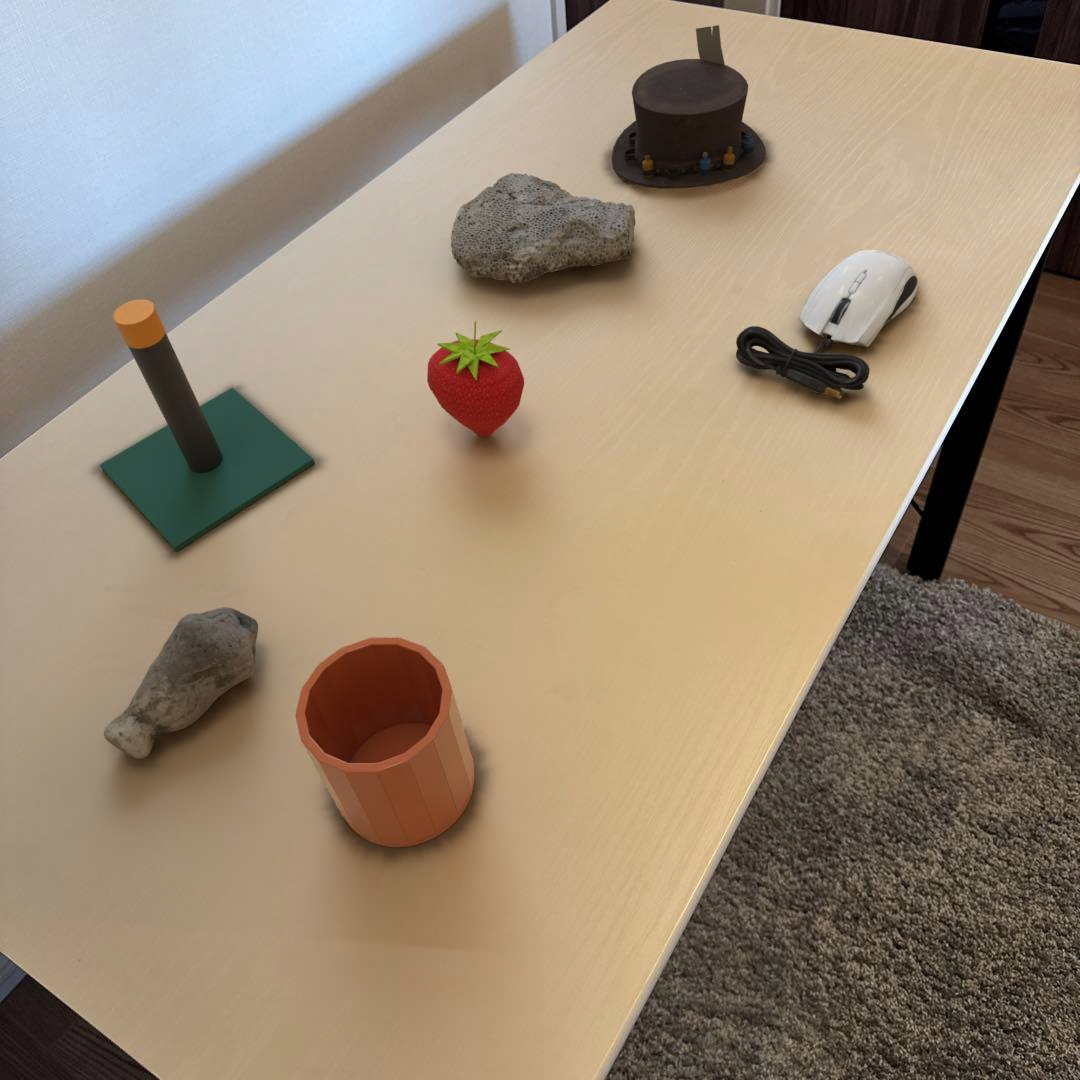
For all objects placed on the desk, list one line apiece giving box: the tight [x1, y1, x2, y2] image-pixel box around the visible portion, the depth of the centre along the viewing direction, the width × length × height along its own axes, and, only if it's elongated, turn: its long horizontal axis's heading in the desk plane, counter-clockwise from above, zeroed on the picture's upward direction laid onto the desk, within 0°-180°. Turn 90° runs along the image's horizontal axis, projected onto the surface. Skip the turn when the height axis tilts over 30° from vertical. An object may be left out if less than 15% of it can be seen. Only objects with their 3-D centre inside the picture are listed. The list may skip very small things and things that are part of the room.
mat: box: [99, 387, 316, 552], centre depth 78 cm, size 12×12×1 cm
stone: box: [103, 606, 259, 759], centre depth 62 cm, size 10×5×8 cm
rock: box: [450, 172, 636, 284], centre depth 90 cm, size 15×16×5 cm
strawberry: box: [426, 320, 525, 437], centre depth 74 cm, size 6×8×10 cm
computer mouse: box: [735, 249, 919, 400], centre depth 80 cm, size 10×18×4 cm, turn 144°
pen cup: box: [295, 636, 475, 848], centre depth 56 cm, size 8×8×9 cm
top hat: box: [611, 24, 767, 190], centre depth 96 cm, size 15×15×10 cm
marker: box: [112, 298, 223, 473], centre depth 72 cm, size 3×3×14 cm
